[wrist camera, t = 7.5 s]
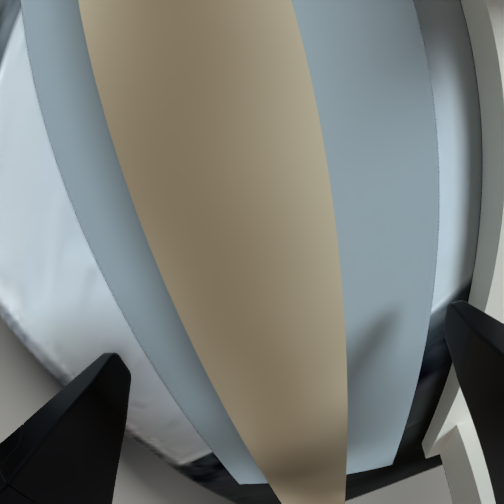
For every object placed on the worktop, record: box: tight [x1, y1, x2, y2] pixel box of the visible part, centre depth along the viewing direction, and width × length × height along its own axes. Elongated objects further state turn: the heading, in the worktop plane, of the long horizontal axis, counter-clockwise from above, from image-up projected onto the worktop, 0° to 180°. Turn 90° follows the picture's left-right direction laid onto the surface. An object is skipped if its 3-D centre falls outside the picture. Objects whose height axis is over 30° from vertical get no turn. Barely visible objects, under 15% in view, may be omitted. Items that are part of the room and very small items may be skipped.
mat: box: [21, 0, 439, 484], centre depth 10 cm, size 10×30×1 cm, turn 13°
